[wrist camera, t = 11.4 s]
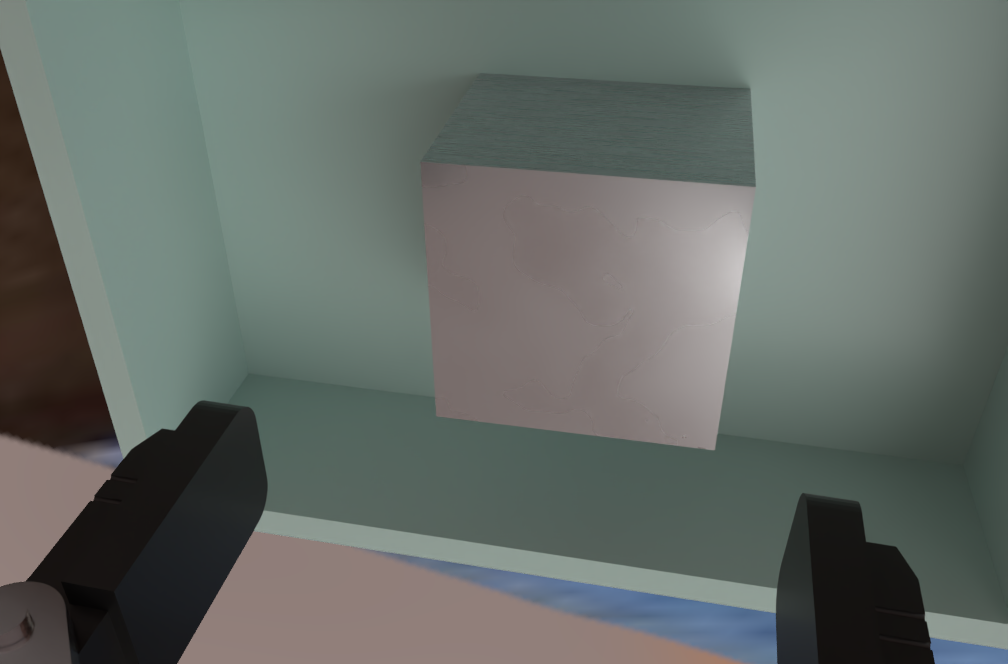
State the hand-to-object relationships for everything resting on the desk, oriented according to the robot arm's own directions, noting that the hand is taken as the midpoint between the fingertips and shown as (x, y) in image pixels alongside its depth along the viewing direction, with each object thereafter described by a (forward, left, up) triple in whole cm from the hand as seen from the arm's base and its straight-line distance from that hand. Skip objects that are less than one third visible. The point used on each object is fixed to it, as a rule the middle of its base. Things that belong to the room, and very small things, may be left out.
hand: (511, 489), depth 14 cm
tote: (+1, 0, -11) cm, 11 cm away
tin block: (0, 0, -11) cm, 11 cm away
